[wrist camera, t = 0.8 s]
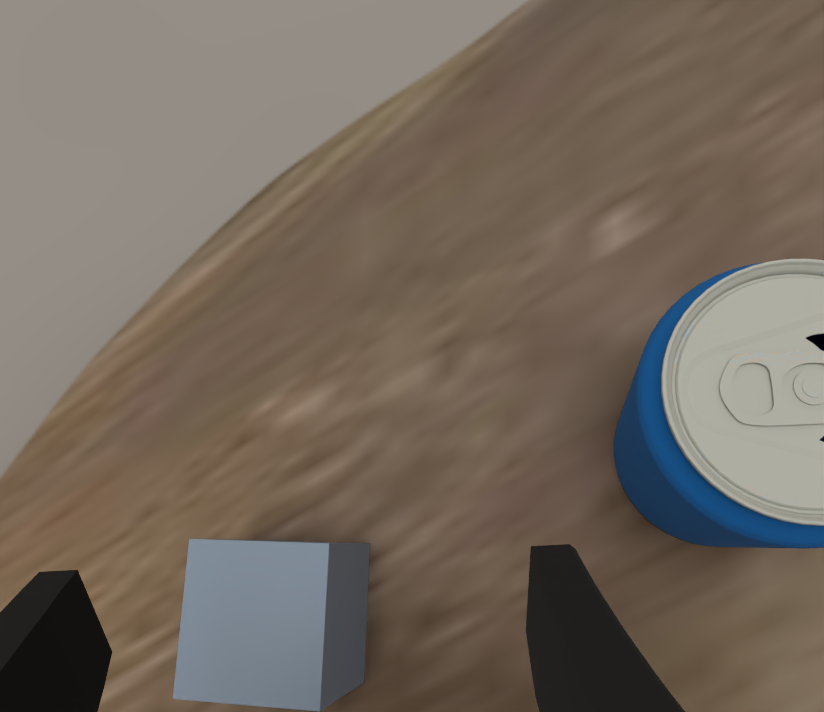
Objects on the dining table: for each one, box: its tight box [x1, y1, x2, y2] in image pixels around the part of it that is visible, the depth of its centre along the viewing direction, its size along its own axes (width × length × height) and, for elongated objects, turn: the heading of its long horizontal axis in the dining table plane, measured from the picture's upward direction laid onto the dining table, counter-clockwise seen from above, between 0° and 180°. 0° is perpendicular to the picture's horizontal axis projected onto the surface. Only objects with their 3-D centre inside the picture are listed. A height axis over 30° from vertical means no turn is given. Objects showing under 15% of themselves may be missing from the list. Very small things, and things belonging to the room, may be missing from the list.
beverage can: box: [614, 259, 824, 548], centre depth 20 cm, size 6×6×12 cm
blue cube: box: [173, 539, 370, 711], centre depth 25 cm, size 5×5×5 cm
